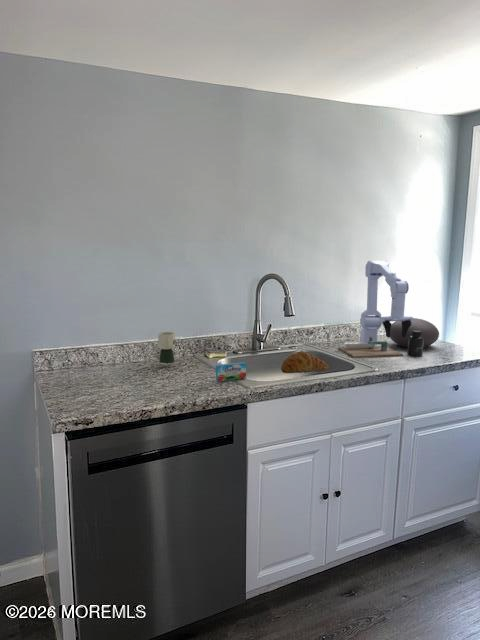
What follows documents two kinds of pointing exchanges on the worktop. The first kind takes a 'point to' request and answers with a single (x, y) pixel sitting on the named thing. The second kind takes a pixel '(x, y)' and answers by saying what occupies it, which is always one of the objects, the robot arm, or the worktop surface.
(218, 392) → the worktop surface
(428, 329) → the smooth stone
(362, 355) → the board
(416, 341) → the supplement bottle
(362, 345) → the link
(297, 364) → the pastry
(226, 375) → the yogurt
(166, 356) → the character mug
